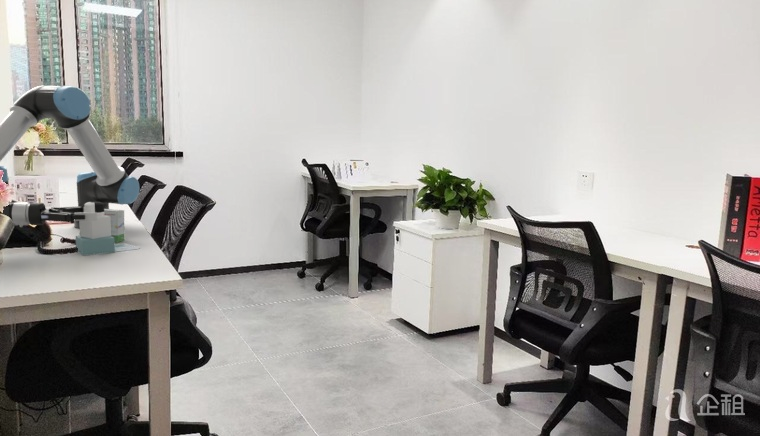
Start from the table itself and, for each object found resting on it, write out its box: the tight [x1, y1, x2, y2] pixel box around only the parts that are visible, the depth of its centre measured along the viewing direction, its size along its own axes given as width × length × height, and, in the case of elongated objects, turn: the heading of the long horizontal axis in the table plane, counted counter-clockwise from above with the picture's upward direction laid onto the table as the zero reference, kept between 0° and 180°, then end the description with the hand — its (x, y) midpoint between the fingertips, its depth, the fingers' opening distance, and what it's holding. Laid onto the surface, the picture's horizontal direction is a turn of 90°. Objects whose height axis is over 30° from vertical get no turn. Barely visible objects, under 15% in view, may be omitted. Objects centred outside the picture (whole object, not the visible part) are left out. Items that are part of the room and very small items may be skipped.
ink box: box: [104, 208, 125, 243], centre depth 212 cm, size 9×5×12 cm, turn 84°
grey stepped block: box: [79, 202, 111, 239], centre depth 193 cm, size 7×7×12 cm
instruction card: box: [114, 242, 141, 252], centre depth 202 cm, size 12×8×1 cm, turn 47°
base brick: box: [75, 234, 116, 256], centre depth 195 cm, size 10×10×5 cm
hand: (100, 213), depth 193 cm, fingers open, 13 cm apart
